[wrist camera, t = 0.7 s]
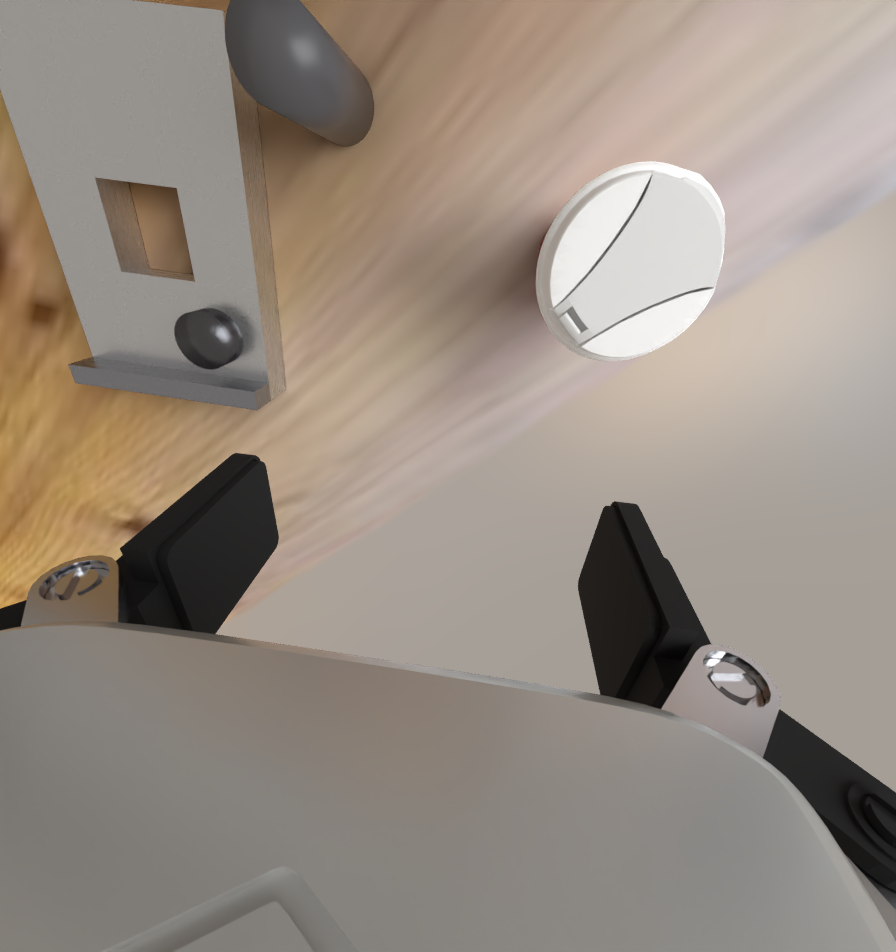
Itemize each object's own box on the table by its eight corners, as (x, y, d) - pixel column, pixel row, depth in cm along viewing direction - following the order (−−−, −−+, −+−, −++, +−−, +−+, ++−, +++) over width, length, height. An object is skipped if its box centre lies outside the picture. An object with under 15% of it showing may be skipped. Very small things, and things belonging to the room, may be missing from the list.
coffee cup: (563, 336, 34) (601, 401, 21) (500, 252, 31) (500, 266, 18) (659, 260, 30) (777, 281, 17) (598, 157, 27) (684, 92, 15)
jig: (14, 5, 27) (-88, -43, 22) (249, 31, 26) (196, -11, 22) (125, 365, 39) (75, 383, 35) (286, 389, 39) (257, 410, 34)
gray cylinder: (308, 56, 26) (216, -28, 18) (374, 63, 26) (313, -18, 18) (312, 142, 29) (233, 104, 20) (373, 149, 29) (319, 114, 20)
